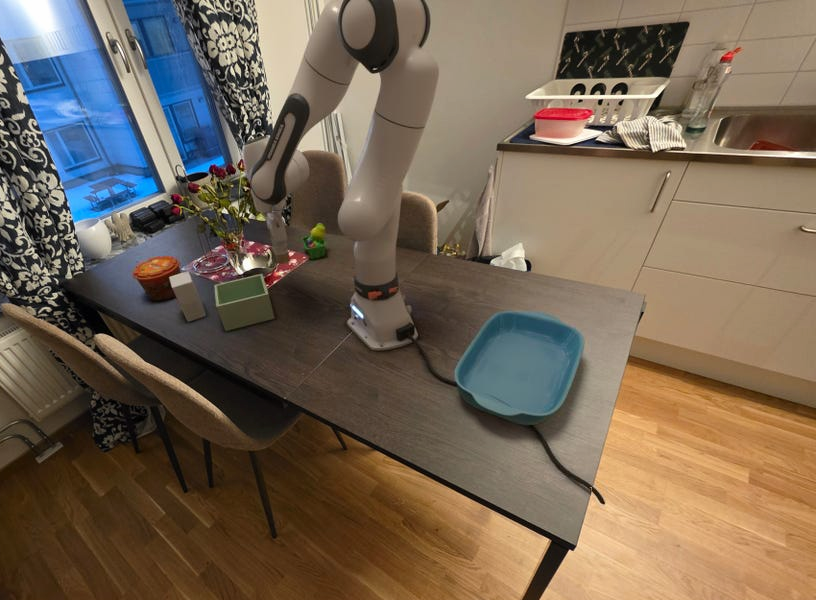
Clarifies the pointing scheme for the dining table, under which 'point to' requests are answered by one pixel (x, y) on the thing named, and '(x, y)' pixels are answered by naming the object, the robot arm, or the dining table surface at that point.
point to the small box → (187, 296)
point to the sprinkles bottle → (281, 256)
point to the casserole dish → (520, 366)
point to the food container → (157, 276)
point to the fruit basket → (316, 242)
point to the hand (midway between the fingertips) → (280, 246)
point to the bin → (243, 302)
